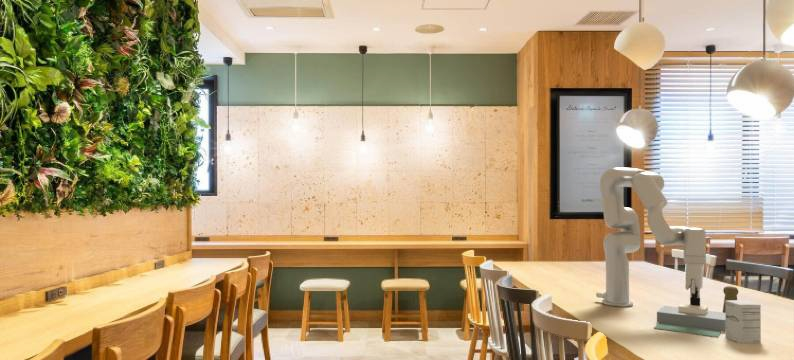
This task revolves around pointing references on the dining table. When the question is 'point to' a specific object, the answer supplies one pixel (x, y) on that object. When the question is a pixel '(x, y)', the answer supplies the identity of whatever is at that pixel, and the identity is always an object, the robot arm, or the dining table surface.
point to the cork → (729, 294)
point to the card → (693, 309)
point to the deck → (692, 318)
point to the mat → (688, 329)
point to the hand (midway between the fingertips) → (695, 307)
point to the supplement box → (743, 321)
